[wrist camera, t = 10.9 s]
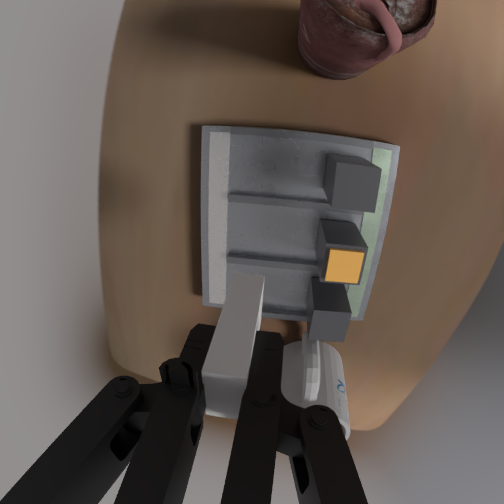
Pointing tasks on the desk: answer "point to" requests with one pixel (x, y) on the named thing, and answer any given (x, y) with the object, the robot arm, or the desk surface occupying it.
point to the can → (359, 32)
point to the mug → (315, 378)
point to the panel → (281, 212)
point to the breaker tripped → (340, 252)
